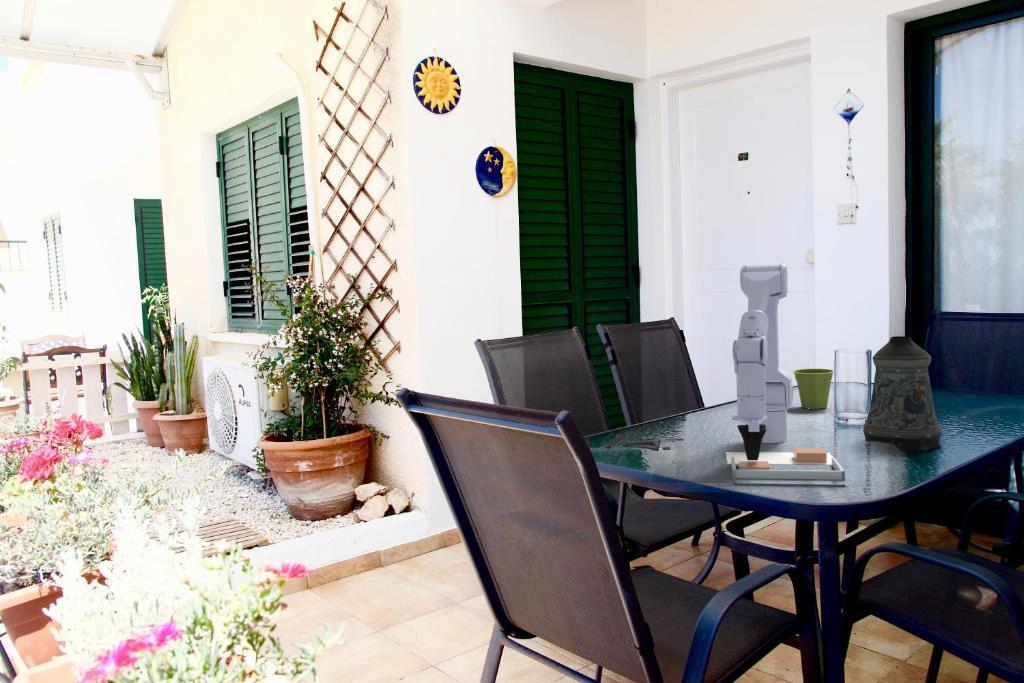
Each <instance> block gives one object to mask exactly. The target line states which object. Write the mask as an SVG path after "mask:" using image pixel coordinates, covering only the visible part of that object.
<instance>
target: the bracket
mask: <svg viewBox="0 0 1024 683" xmlns="http://www.w3.org/2000/svg"><path fill="white" fill-rule="evenodd" d="M661 441H662V439H651V440H638V441H637V440H635V441H625V443H624V446H626V448H640V447H641V449H649V448H650V450H655V451H658V452H659V450H660V445H661ZM664 441H677V442H678V441H679V442H680V441H682V442H683V441H684V438H668V439H664ZM648 445H649V446H648ZM652 445H653V446H652ZM662 449H663V450H664V451H671V447H670V446H663V447H662Z"/></svg>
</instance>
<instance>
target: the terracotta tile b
mask: <svg viewBox="0 0 1024 683" xmlns="http://www.w3.org/2000/svg"><path fill="white" fill-rule="evenodd" d="M792 449H793V451H792V453H794V459H795V461H796V462H800V463H827V453H828V452H826V451H825V449H824V448H823V447H793V448H792Z"/></svg>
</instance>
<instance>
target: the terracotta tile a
mask: <svg viewBox="0 0 1024 683" xmlns="http://www.w3.org/2000/svg"><path fill="white" fill-rule="evenodd" d="M737 467H738V470H771V467H770V464H769V463H768V461H738V464H737Z"/></svg>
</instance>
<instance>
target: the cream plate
mask: <svg viewBox="0 0 1024 683" xmlns="http://www.w3.org/2000/svg"><path fill="white" fill-rule="evenodd" d="M826 453H827V463H800V462H796V461H795V459H794V453H793V452H768V451H767V452H764V451H763V452H761V451H760V453H759V458H758V460H747V457H746V452H745V451H743V452H742V451H739V452H738V451H735V452H734V451H729V452H728V451H726V452H725V455H726V457H725V458H726V462H727V465H731V457H734V460H735V465H738V461H768V463H769V465H819V466H820V465H822V466H823V465H824V466H825V465H826V466H827V465H829V466H830V465H831V466H832V458H834V457H833V456H832V454H831V452H826Z"/></svg>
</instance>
